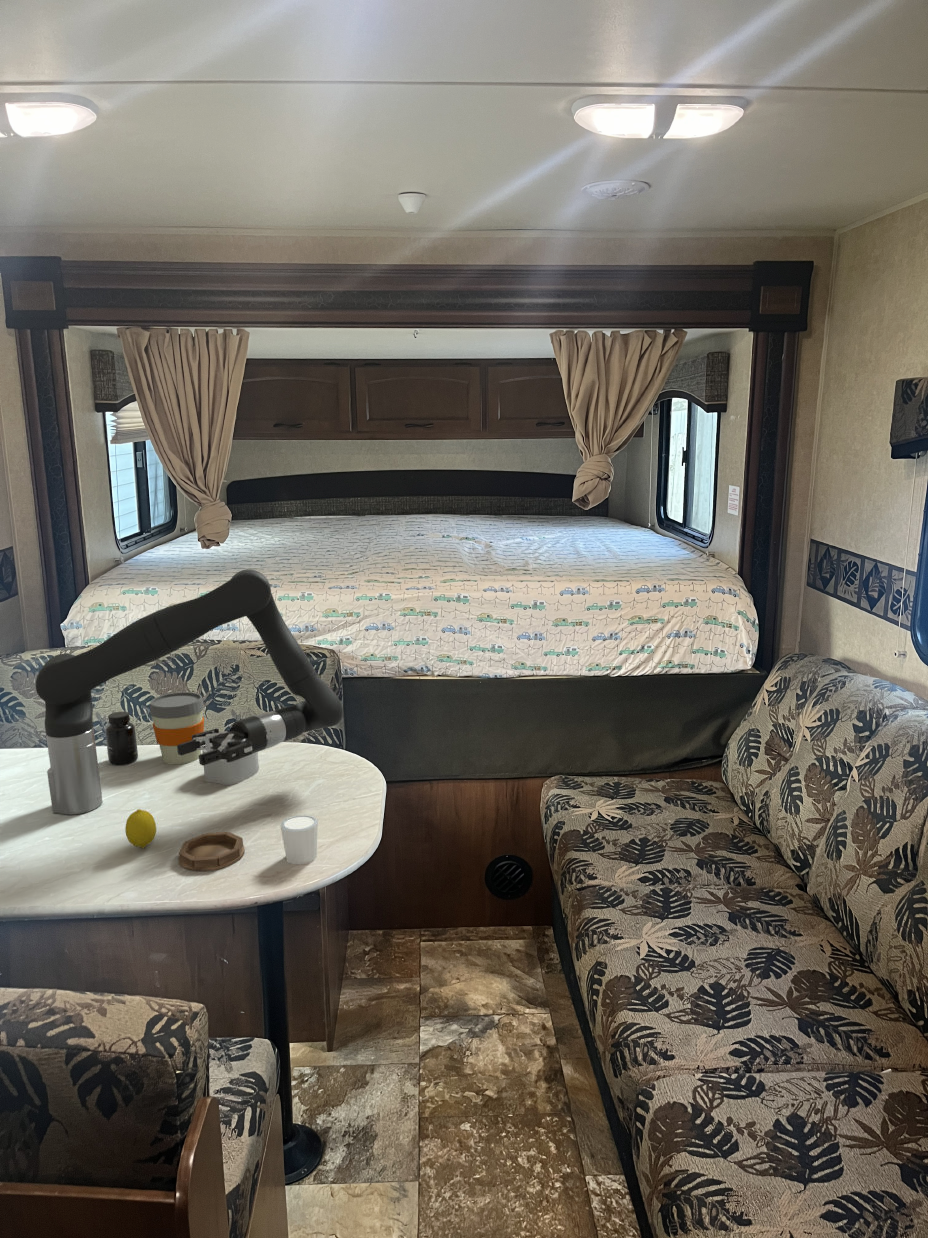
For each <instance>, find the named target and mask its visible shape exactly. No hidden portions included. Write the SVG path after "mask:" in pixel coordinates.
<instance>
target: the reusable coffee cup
mask: <svg viewBox="0 0 928 1238" xmlns="http://www.w3.org/2000/svg"><path fill="white" fill-rule="evenodd" d="M149 704H150V705H149V707H150V708H149V709H150V711H149V712H150V713H149V715H150V716H151V717H152V720H153V723H152V727H153V731H154V735H155V736H154V737H155V741H156V743H157V744H158V745H159V749H160V753H161V758H162V761H163V762H164V763H165V764H168V765H183V764H189V763H192V762H195V761H197V760H199V755H200V754H202V750H196V751H194V752H191V753H188V754H185V755H179V754H178V750H177V746H178V745H179V744H182V743H185V742H188V741H192V735H195V734H198V733H202V732H205V729H204V727H205V718H204V715H203V714H204V709H205V705H204V701H203V696H202V695H201V694H200V693H198V692H193V691H192V692H191V691H179V692H171V693H166V694H162V695H159V696H156V697H154V698H153V699H151V701H150V703H149ZM200 742H202V741H200Z"/></svg>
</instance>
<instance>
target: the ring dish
mask: <svg viewBox="0 0 928 1238" xmlns="http://www.w3.org/2000/svg"><path fill="white" fill-rule="evenodd" d="M243 839H244V838H243V837H241V836H239V835H236V834H234V833H232V832H230V831H217V832H205V833H202V834H200V835H197V836H195V837H192V838H189V840H186V841H184V842H183V844H182V846H181V847H180V850H179V852H178V864H179V865H180V866H181V867H182V868H183V869H185V870H188V871H193V872H210V871H211V872H212V871H217V870H221V869H224V868H226V867H227V868H228V867H230V866H232V865H234V864H235V863H237V862H239V861H240V860H241V859H242V858H243V857H244V855H245V854H246V853H245V852H246V848H245V845H244V840H243Z"/></svg>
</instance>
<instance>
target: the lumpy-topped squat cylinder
mask: <svg viewBox="0 0 928 1238" xmlns="http://www.w3.org/2000/svg"><path fill="white" fill-rule="evenodd" d="M210 746H211V747H212V743H210ZM206 752H208V751H206V750H201V754H203V753H206ZM258 753H259V752H256V753H253V754H251V755H248V756H246V757H243V758H240V759H238V760H235V761H233V762H227V761H226V760H224V761H219V760H218V761H215V762H213V763H210V764H207V765H204V766H203V772H204V773H203V774H204V780H205V782H209V783H217V784H220V785H221V784H222V785H224V786H229V785H230V786H232V785H236V784H240V783H242V782H244V781H246V780H249V779H250V778H252V777H254V776H255V775H257V774H258V772H259V770H260V769H259V768H260V765H259V764H260V763H259V755H258ZM235 755H236V753H235V754H233V755H232V757H233V756H235Z"/></svg>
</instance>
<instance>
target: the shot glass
mask: <svg viewBox="0 0 928 1238" xmlns="http://www.w3.org/2000/svg"><path fill="white" fill-rule="evenodd" d="M318 824H319V820H318V819H317V818H316V817H315V816H312V815H307V814H302V815H301V814H299V815H294V816H290V817H288V818H285V819H284V820H283V821H282V822H280V830H281V835H282V841H283V848H284V852H285V858H286V859H285V860H286V861H287V862H288V863H290V864H293V865H305V864H309V863H311V862H313V861H315V859H316V858H317V857H318V856H317V855H318V831H319V830H318Z"/></svg>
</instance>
